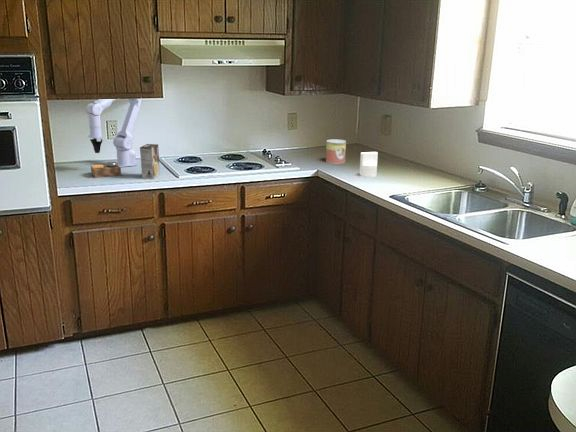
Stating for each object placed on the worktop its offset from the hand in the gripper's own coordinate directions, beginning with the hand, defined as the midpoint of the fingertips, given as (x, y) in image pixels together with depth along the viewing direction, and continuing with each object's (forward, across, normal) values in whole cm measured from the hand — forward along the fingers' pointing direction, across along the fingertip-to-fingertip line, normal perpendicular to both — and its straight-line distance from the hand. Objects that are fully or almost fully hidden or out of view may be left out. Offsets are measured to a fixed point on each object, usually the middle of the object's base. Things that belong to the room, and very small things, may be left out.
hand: (97, 152), depth 312 cm
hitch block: (+9, +11, +2) cm, 15 cm away
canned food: (+10, +34, +127) cm, 132 cm away
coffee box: (+10, +25, +21) cm, 34 cm away
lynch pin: (+9, +11, +5) cm, 15 cm away
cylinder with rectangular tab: (+10, +69, +125) cm, 143 cm away
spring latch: (+5, +11, -2) cm, 12 cm away
